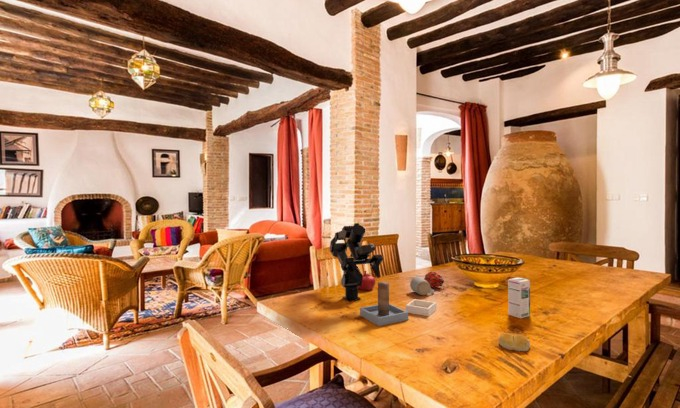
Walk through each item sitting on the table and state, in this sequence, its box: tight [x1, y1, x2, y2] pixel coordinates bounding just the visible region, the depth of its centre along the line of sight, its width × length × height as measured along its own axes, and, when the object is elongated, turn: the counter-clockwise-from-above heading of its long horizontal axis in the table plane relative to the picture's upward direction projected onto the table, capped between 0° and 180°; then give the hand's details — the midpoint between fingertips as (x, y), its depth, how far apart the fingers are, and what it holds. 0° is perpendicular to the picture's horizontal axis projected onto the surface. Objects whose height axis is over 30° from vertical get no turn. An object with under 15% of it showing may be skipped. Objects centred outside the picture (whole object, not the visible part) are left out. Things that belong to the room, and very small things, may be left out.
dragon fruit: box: [423, 271, 445, 289], centre depth 189 cm, size 8×8×12 cm
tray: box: [359, 303, 409, 327], centre depth 145 cm, size 14×14×3 cm
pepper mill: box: [377, 281, 390, 316], centre depth 145 cm, size 4×4×12 cm
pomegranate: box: [358, 270, 376, 291], centre depth 188 cm, size 10×10×9 cm
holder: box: [405, 298, 437, 317], centre depth 153 cm, size 10×10×3 cm
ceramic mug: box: [409, 275, 435, 296], centre depth 178 cm, size 11×8×8 cm
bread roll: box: [498, 332, 531, 352], centre depth 118 cm, size 8×9×4 cm
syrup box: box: [507, 277, 531, 319], centre depth 146 cm, size 6×6×14 cm
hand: (369, 278), depth 154 cm, fingers open, 9 cm apart
